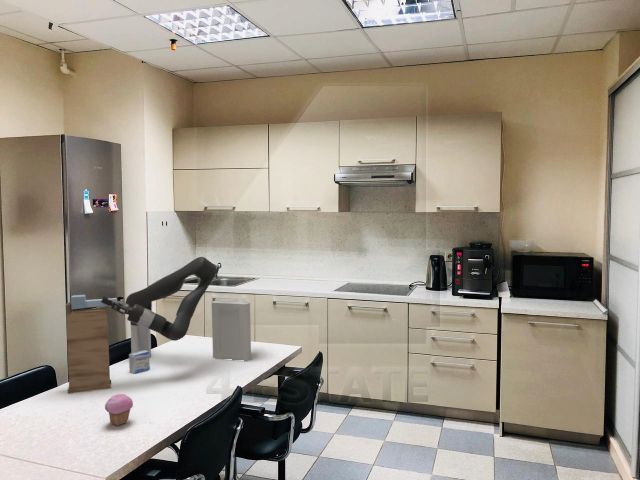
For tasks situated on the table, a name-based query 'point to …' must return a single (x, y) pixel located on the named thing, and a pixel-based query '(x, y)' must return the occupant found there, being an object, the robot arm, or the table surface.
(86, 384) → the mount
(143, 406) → the table surface
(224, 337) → the grey box
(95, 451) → the table surface
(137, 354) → the medicine box
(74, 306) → the bar
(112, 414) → the cupcake
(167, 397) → the table surface
